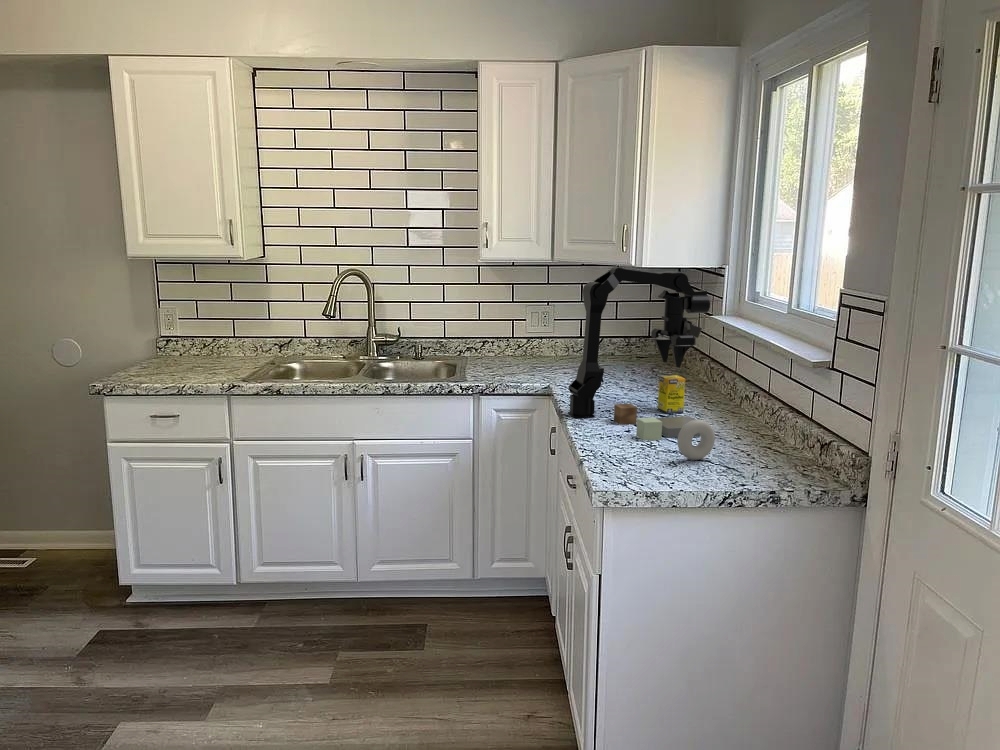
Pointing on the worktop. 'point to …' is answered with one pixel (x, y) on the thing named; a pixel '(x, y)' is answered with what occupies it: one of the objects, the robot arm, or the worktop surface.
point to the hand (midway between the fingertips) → (671, 364)
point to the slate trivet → (674, 425)
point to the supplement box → (671, 394)
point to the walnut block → (625, 414)
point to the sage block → (649, 428)
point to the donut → (705, 442)
